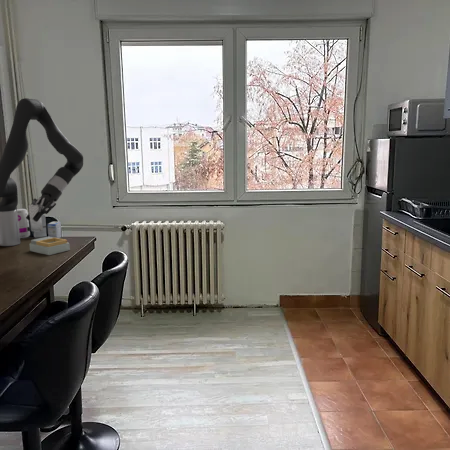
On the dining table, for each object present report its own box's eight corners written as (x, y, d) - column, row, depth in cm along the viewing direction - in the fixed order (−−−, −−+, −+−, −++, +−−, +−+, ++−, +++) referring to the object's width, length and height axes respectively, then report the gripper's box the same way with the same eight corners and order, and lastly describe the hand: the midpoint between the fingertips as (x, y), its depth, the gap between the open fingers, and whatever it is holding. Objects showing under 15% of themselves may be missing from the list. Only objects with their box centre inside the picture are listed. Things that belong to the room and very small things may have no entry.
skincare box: (35, 237, 226) (32, 215, 224) (33, 236, 229) (31, 214, 227) (47, 236, 229) (45, 214, 227) (45, 235, 233) (43, 213, 231)
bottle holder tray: (30, 250, 198) (29, 240, 197) (51, 246, 207) (50, 236, 206) (48, 255, 189) (47, 244, 188) (70, 250, 198) (69, 239, 197)
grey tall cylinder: (28, 230, 178) (25, 201, 176) (38, 229, 182) (35, 200, 180) (34, 231, 176) (31, 202, 174) (44, 230, 179) (41, 201, 177)
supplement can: (22, 238, 224) (19, 211, 221) (9, 238, 226) (6, 210, 224) (33, 235, 231) (30, 208, 229) (21, 234, 234) (18, 208, 231)
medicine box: (53, 237, 227) (52, 221, 226) (61, 237, 227) (60, 221, 226) (48, 240, 219) (47, 224, 218) (57, 240, 220) (55, 223, 218)
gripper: (38, 182, 185) (15, 213, 178) (58, 183, 177) (34, 216, 170) (50, 193, 190) (28, 223, 183) (70, 194, 183) (47, 226, 175)
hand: (31, 219), depth 176 cm, fingers closed on grey tall cylinder, 4 cm apart
